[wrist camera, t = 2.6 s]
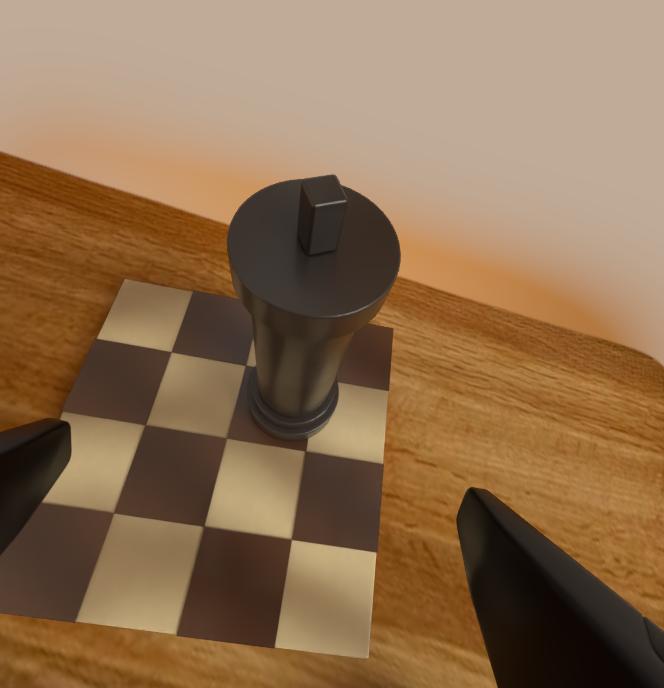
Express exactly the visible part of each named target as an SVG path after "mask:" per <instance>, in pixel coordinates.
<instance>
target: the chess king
mask: <svg viewBox="0 0 664 688" xmlns="http://www.w3.org/2000/svg"><path fill="white" fill-rule="evenodd" d="M227 252H228V258H229V264H230V270H231V276H232V281H233V286H234V289H235V291H236V294H237V296H238V298H239V299H240V301H241V303H242V304H243V306H244V307H245V308H246V309H247V311H248V312H249V313H250V314H251V316H252V327H253V337H254V347H255V358H256V365H255V367H254V368H253V370H252V372H251V373H250V376H249V378H248V382H247V389H246V395H247V402H248V407H249V411H250V414H251V416H252V418H253V420H254V422H255V423H256V425H257V426H258V427H259V428H260V429H261V430H262V431H263V432H264V433H266V434H267V435H269V436H271V437H273V438H275V439H278V440H282V441H301V440H305V439H308V438H310V437H312V436H314V435H316V434H317V433H318V432H320V431H321V430H322V429H323V428H324V427H325V426H326V425H327V423H328V422H329V420H330V418H331V417H332V415H333V413H334V411H335V409H336V406H337V403H338V399H339V386H338V381H337V378H336V375H337V373H338V371H339V368H340V366H341V364H342V361H343V359H344V357H345V354H346V352H347V350H348V347H349V345H350V343H351V340H352V338H353V336H354V333H355V331H357V330H359V329H360V328H362V327H363V326H365V325H366V324H368V323H369V322H370V321H371V320H372V319H373V318H374V317H375V316H376V314H377V313H378V312H379V311H380V309H381V307H382V305H383V304H384V302H385V300H386V298H387V296H388V294H389V292H390V290H391V288H392V286H393V284H394V282H395V280H396V277H397V274H398V272H399V267H400V260H401V253H400V245H399V240H398V237H397V234H396V232H395V230H394V228H393V226H392V224H391V222H390V221H389V219H388V218H387V217H386V215H385V214H384V213H383V212H382V211H381V210H380V209H379V208H378V207H377V206H376V205H375V204H374V203H373V202H371V201H370V200H369V199H368V198H366V197H365V196H363V195H361V194H360V193H358V192H356V191H354V190H352V189H350V188H347V187H345V186H342V185H341V184H340V182H339V180H338V178H337V176H336V175H326V176H319V177H313V178H306V179H298V180H289V181H284V182H279V183H276V184H273V185H270V186H268V187H266V188H264V189H261V190H260V191H258V192H256V193H255V194H253V195H252V196H251V197H249V198H248V199H247V200H246V201H245V202H244V203H243V204H242V205H241V206H240V207H239V209H238V210H237V212H236V213H235V215H234V217H233V219H232V221H231V223H230V226H229V230H228V235H227Z"/></svg>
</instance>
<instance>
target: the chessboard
mask: <svg viewBox="0 0 664 688" xmlns="http://www.w3.org/2000/svg"><path fill="white" fill-rule="evenodd" d="M392 340H393V328H388V327H383V326H378V325H373V324H366V325H365V326H363V327H362V328H360V329H359V330H357V331H355V333H354V336H353V338H352V340H351V343H350V345H349V347H348V350H347V352H346V354H345V357H344V359H343V361H342V364H341V366H340V368H339V371H338V373H337V375H336V378H337V381H338V386H339V399H338V403H337V406H336V409H335V411H334V413H333V415H332V417H331V418H330V420H329V422H328V423H327V425H326V426H325V427H324V428H323V429H322V430H321V431H320V432H318V433H317V434H316V435H314V436H312V437H310V438H308V439H305V440H301V441H282V440H278V439H275V438H273V437H271V436H269V435H267V434H266V433H264V432H263V431H262V430H261V429H260V428H259V427H258V426H257V425H256V423H255V422H254V420H253V418H252V416H251V414H250V411H249V407H248V402H247V395H246V389H247V382H248V378H249V376H250V373H251V372H252V370H253V368H254V367H255V365H256V358H255V347H254V337H253V327H252V316H251V314H250V313H249V312H248V311H247V309H246V308H245V307H244V306H243V304H242V303H241V301H240V299H236V298H230V297H225V296H220V295H214V294H209V293H204V292H199V291H193V292H191V291H186V290H181V289H175V288H170V287H165V286H159V285H154V284H149V283H144V282H138V281H133V280H128V279H124V281H123V283H122V285H121V288H120V290H119V292H118V294H117V296H116V298H115V301H114V303H113V305H112V307H111V309H110V311H109V314H108V316H107V318H106V320H105V322H104V324H103V327H102V329H101V331H100V333H99V335H98V337H97V339H96V338H95V340H94V342H93V344H92V346H91V348H90V350H89V353H88V355H87V357H86V359H85V361H84V363H83V366H82V368H81V370H80V372H79V374H78V376H77V378H76V381H75V383H74V385H73V387H72V389H71V391H70V394H69V396H68V398H67V400H66V402H65V404H64V406H63V409H62V412H63V413H62V415H61V417H60V420H65V421H67V422H69V423H70V426H71V445H72V454H71V458H70V461H69V463H68V465H67V467H66V468H65V469H64V471H63V472H62V474H61V475H60V477H59V478H58V480H57V481H56V482H55V484H54V485H53V487H52V488H51V490H50V491H49V493H48V494H47V496H46V497H45V498H44V500H43V501H42V503H41V504H40V506H39V507H38V509H37V510H36V512H35V513H34V514H33V516H32V517H31V519H30V520H29V521H28V523H27V524H26V526H25V527H24V528H23V529H22V531H21V532H20V533H19V534H18V536H17V537H16V538H15V539H14V541H13V542H12V543H11V544H10V545H9V547H8V548H7V549H6V550H5V551H4V553H3V554H2V555H1V556H0V613H4V614H11V615H19V616H27V617H35V618H42V619H50V620H58V621H66V622H73V623H75V622H83V623H91V624H98V625H106V626H114V627H122V628H129V629H137V630H145V631H153V632H160V633H168V634H176V635H177V636H182V637H189V638H197V639H205V640H213V641H220V642H228V643H236V644H244V645H251V646H259V647H267V648H275V647H276V648H284V649H292V650H299V651H307V652H315V653H323V654H330V655H338V656H346V657H354V658H361V659H368V657H369V647H370V633H371V619H372V606H373V592H374V578H375V564H376V553H377V550H378V536H379V522H380V508H381V494H382V480H383V466H384V464H383V454H384V440H385V426H386V412H387V399H388V391H389V382H390V368H391V354H392Z"/></svg>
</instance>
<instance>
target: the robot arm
mask: <svg viewBox="0 0 664 688" xmlns="http://www.w3.org/2000/svg"><path fill="white" fill-rule="evenodd" d="M71 454H72V445H71V426H70V423H69V422H67V421H65V420H59V419H53V418H46V419H43V420H39V421H36V422H32V423H29V424H26V425H22V426H19V427H16V428H12V429H9V430H6V431H2V432H0V556H1V555H2V554H3V553H4V551H5V550H6V549H7V548H8V547H9V545H10V544H11V543H12V542H13V541H14V539H15V538H16V537H17V536H18V534H19V533H20V532H21V531H22V529H23V528H24V527H25V526H26V524H27V523H28V521H29V520H30V519H31V517H32V516H33V514H34V513H35V512H36V510H37V509H38V507H39V506H40V504H41V503H42V501H43V500H44V498H45V497H46V496H47V494H48V493H49V491H50V490H51V488H52V487H53V485H54V484H55V482H56V481H57V480H58V478H59V477H60V475H61V474H62V472H63V471H64V469H65V468H66V467H67V465H68V463H69V461H70V458H71ZM456 522H457V530H458V535H459V540H460V545H461V550H462V556H463V561H464V566H465V571H466V576H467V581H468V586H469V590H470V595H471V598H472V602H473V605H474V609H475V612H476V616H477V619H478V622H479V626H480V629H481V632H482V636H483V639H484V643H485V646H486V649H487V653H488V656H489V659H490V663H491V666H492V670H493V673H494V676H495V680H496V683H497V686H498V688H664V631H663V630H662V629H660V628H659V627H658V626H657V625H655V624H654V623H653V622H652V621H650V620H649V619H648V618H647V617H642V614H641V613H640V612H639V611H638V610H637V609H635V608H634V607H633V606H632V605H630V604H629V603H628V602H627V601H625V600H624V599H623V598H622V597H620V596H619V595H618V594H617V593H615V592H614V591H613V590H612V589H610V588H609V587H608V586H607V585H605V584H604V583H603V582H602V581H600V580H599V579H598V578H597V577H595V576H594V575H593V574H592V573H590V572H589V571H588V570H587V569H585V568H584V567H583V566H582V565H580V564H579V563H578V562H577V561H575V560H574V559H573V558H572V557H570V556H569V555H568V554H567V553H565V552H564V551H563V550H562V549H560V548H559V547H558V546H557V545H555V544H554V543H553V542H552V541H550V540H549V539H548V538H547V537H545V536H544V535H543V534H542V533H540V532H539V531H538V530H537V529H535V528H534V527H533V526H532V525H530V524H529V523H528V522H527V521H525V520H524V519H523V518H522V517H520V516H519V515H518V514H517V513H515V512H514V511H513V510H512V509H511V508H509V507H508V506H507V505H506V504H504V503H503V502H502V501H501V500H499V499H498V498H497V497H496V496H494V495H493V494H492V493H491V492H489V491H488V490H486V489H480V488H474V487H471V488H468V489H467V491H466V493H465V495H464V498H463V501H462V503H461V506H460V509H459V511H458V514H457V521H456Z"/></svg>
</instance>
